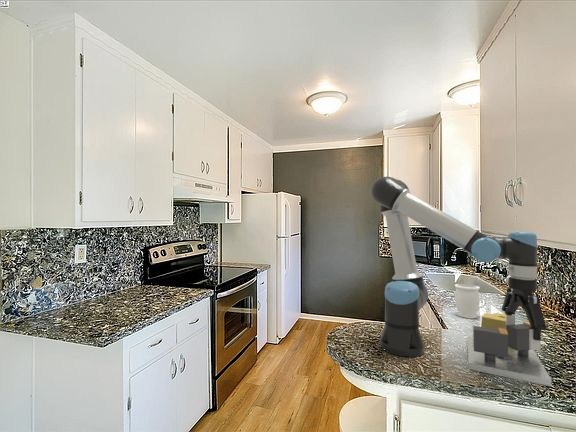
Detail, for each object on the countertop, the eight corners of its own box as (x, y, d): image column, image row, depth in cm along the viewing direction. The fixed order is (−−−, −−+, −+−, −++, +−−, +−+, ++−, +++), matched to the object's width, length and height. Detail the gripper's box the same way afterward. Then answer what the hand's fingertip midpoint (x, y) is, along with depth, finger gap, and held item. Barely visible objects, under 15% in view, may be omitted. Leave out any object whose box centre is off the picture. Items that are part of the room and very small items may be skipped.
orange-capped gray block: (516, 358, 99) (516, 327, 99) (506, 353, 102) (505, 323, 103) (540, 356, 100) (540, 325, 100) (528, 351, 104) (528, 321, 104)
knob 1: (473, 358, 98) (473, 327, 98) (473, 354, 101) (473, 323, 102) (508, 365, 93) (507, 332, 94) (506, 360, 97) (506, 328, 97)
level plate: (468, 369, 95) (468, 360, 95) (466, 342, 116) (466, 335, 116) (551, 386, 85) (551, 377, 85) (532, 354, 106) (532, 346, 106)
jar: (473, 313, 154) (472, 283, 154) (484, 320, 144) (484, 288, 144) (451, 312, 155) (451, 283, 155) (460, 319, 145) (460, 287, 145)
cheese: (484, 334, 125) (484, 310, 125) (517, 341, 118) (516, 315, 118) (480, 342, 117) (480, 316, 117) (515, 350, 110) (515, 322, 110)
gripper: (491, 271, 115) (490, 327, 114) (533, 284, 90) (532, 356, 90) (513, 272, 113) (512, 328, 113) (562, 286, 89) (561, 358, 89)
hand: (521, 341), depth 102 cm, fingers open, 13 cm apart
